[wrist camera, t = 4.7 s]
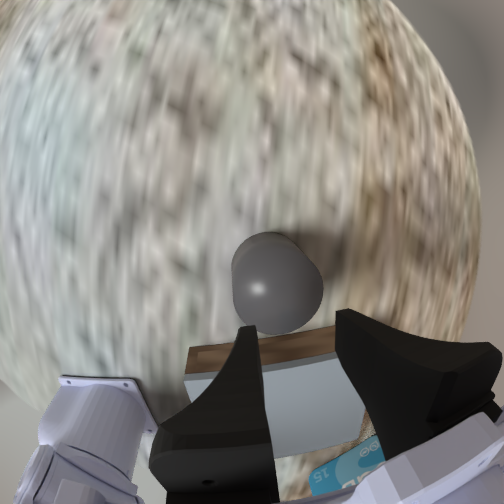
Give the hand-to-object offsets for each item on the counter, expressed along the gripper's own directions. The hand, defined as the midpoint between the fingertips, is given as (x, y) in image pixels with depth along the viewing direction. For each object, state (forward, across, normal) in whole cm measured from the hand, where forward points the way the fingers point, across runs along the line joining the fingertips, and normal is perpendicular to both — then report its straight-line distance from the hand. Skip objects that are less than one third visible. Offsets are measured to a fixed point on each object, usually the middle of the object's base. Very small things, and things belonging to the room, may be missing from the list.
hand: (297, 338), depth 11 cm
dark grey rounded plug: (+10, 0, 0) cm, 10 cm away
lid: (+6, 0, +12) cm, 13 cm away
